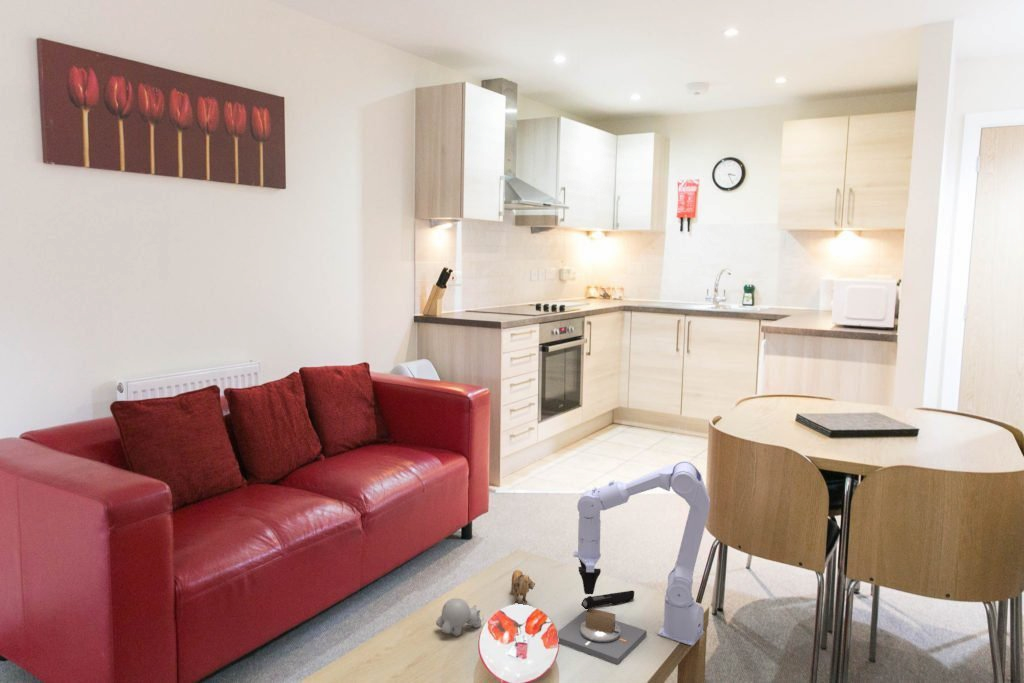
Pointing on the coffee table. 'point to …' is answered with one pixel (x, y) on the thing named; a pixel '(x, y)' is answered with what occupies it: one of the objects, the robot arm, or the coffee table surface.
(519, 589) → the lion figurine
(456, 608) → the chubby cartoon animal
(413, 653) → the coffee table surface
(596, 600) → the electric trimmer
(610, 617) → the dial
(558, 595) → the coffee table surface
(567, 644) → the dial base
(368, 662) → the coffee table surface
